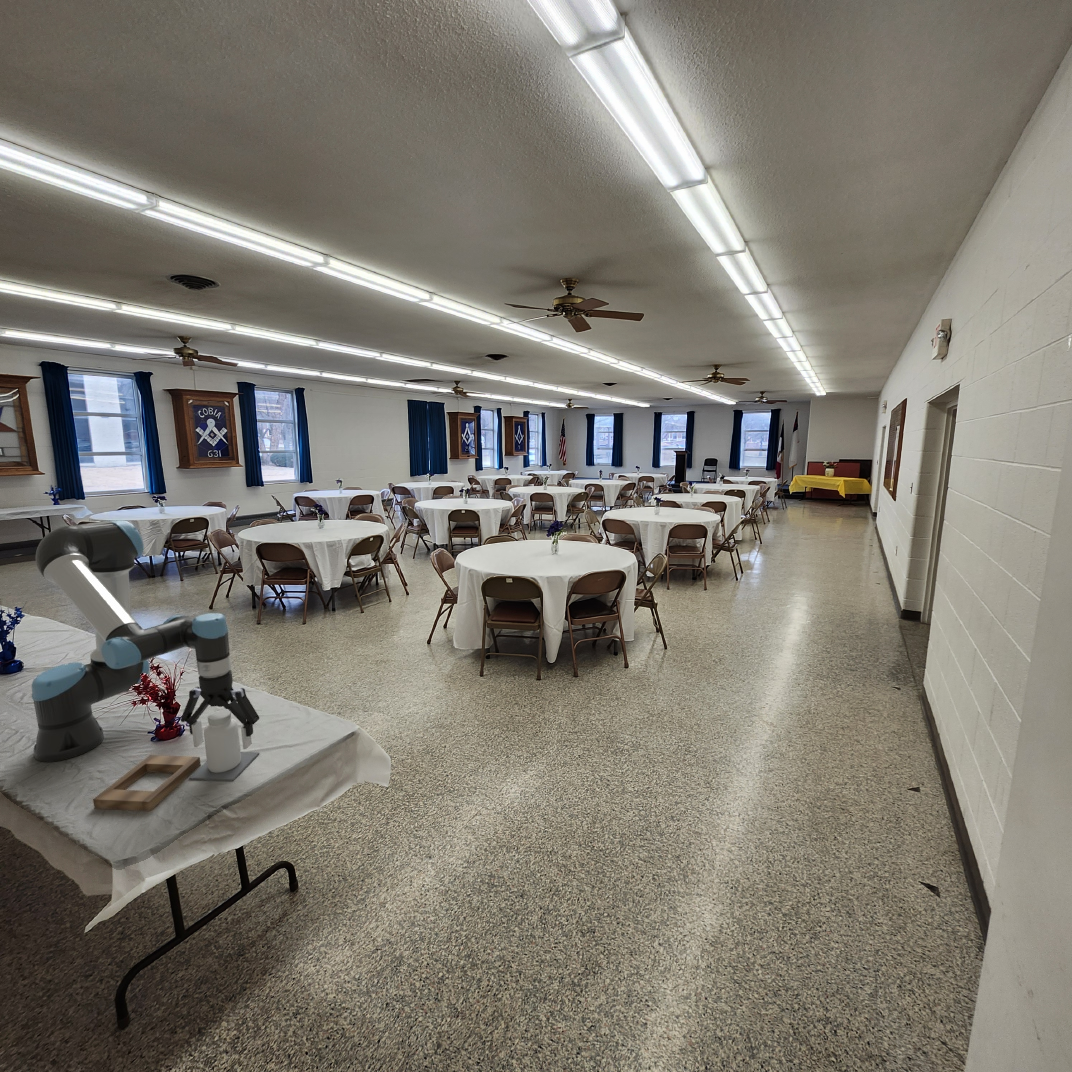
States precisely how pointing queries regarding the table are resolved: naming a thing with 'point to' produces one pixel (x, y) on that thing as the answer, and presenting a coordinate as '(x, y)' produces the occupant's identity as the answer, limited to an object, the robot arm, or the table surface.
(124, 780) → the pocket board
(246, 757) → the mat
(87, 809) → the table surface
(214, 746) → the pill bottle
